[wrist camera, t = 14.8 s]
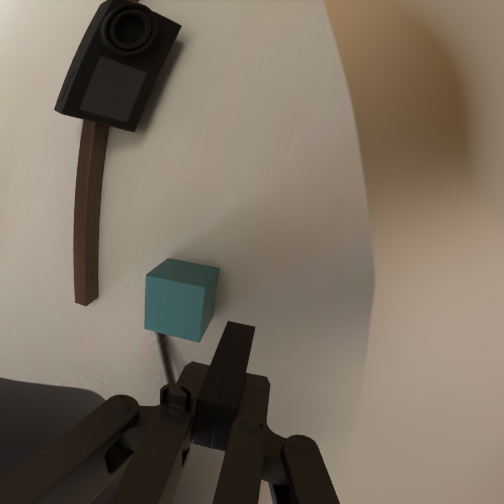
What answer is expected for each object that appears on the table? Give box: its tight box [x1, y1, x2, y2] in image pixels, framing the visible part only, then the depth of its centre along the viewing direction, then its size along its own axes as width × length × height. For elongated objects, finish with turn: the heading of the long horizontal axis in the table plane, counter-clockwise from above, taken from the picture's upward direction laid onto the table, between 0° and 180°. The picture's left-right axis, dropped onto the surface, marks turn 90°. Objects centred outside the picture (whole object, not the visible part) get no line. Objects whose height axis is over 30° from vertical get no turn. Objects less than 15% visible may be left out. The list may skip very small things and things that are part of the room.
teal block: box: [144, 259, 219, 342], centre depth 28 cm, size 5×5×5 cm
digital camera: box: [54, 0, 182, 132], centre depth 21 cm, size 10×5×7 cm
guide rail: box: [73, 0, 139, 306], centre depth 25 cm, size 2×42×2 cm, turn 171°
